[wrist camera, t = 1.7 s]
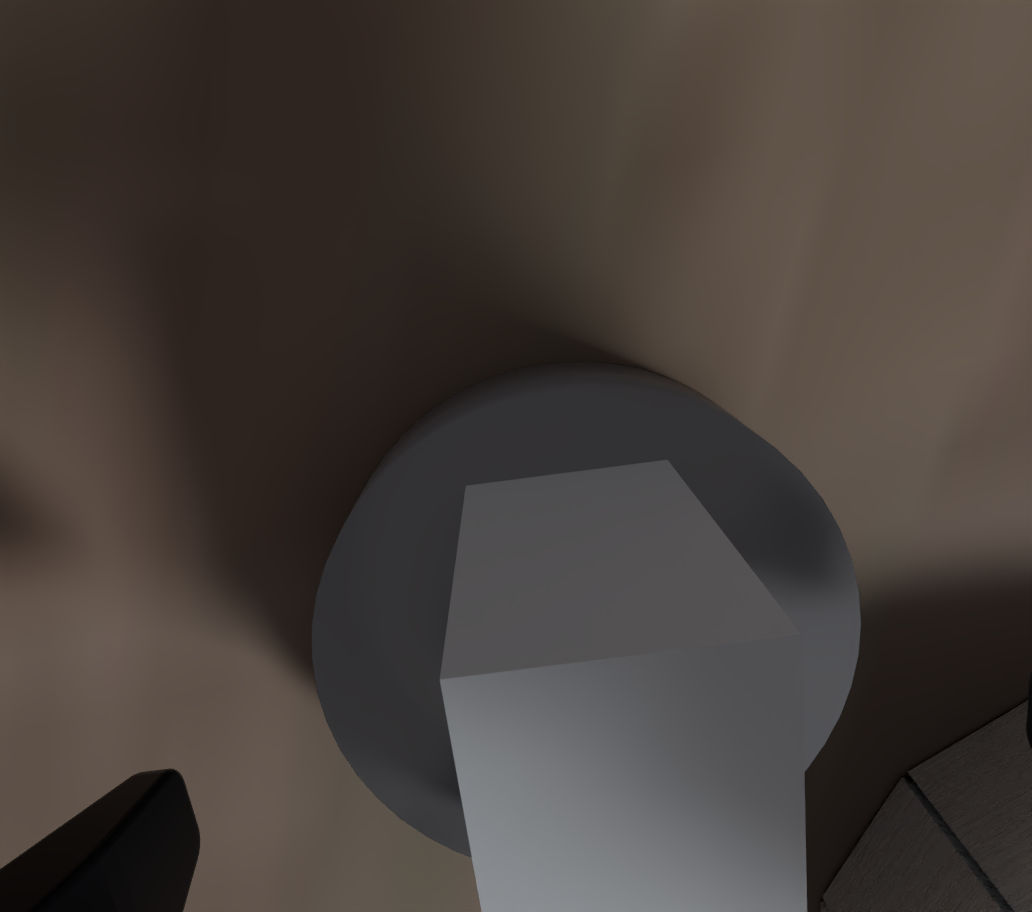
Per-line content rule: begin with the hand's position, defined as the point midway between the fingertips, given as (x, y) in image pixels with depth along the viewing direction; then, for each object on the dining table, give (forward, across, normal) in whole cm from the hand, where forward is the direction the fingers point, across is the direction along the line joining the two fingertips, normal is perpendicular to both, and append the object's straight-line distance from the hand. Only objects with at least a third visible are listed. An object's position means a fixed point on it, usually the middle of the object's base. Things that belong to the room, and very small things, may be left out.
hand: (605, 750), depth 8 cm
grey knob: (+4, 0, 0) cm, 4 cm away
